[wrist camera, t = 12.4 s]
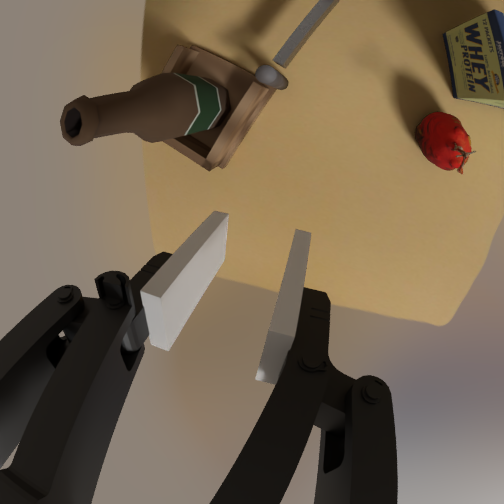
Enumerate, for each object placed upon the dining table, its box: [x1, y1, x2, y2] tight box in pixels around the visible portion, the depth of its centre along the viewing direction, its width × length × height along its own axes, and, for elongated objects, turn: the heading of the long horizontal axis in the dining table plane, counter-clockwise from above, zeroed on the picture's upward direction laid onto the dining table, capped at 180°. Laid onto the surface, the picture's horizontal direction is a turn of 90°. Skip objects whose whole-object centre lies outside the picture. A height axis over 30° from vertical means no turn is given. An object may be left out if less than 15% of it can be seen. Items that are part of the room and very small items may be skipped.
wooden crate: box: [162, 45, 288, 171], centre depth 30 cm, size 16×15×10 cm
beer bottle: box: [60, 73, 231, 146], centre depth 24 cm, size 8×8×24 cm
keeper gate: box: [273, 0, 339, 69], centre depth 20 cm, size 12×1×4 cm, turn 148°
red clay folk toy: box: [415, 112, 476, 174], centre depth 23 cm, size 8×7×15 cm
